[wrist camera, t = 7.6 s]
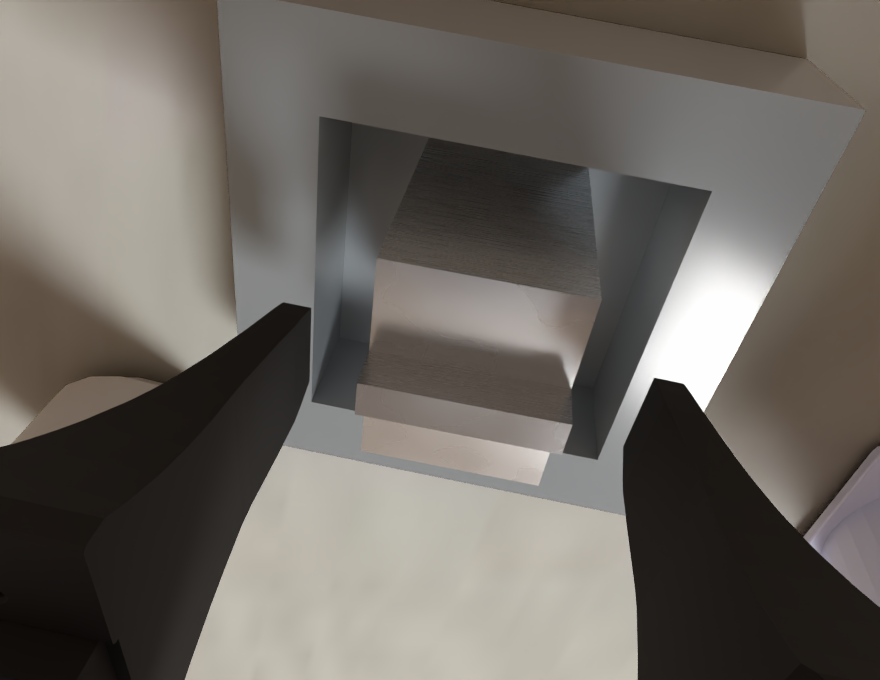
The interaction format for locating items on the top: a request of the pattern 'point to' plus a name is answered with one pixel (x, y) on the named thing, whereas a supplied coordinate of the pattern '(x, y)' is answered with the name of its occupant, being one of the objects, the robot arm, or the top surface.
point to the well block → (531, 134)
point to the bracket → (481, 313)
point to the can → (85, 402)
